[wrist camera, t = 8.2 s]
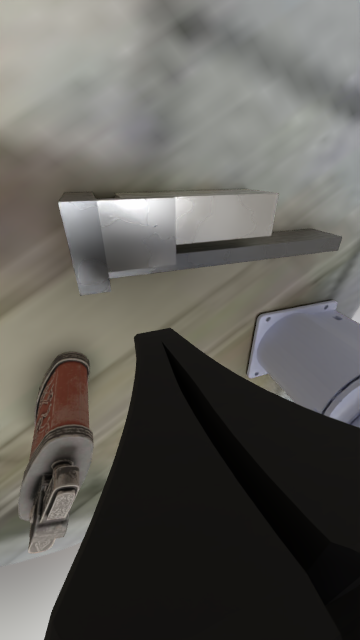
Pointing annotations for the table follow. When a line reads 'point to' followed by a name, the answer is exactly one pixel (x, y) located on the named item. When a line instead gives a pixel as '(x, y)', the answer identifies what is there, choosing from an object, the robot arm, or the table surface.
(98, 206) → the bracket
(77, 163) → the table surface
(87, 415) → the lighter
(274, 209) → the bar
